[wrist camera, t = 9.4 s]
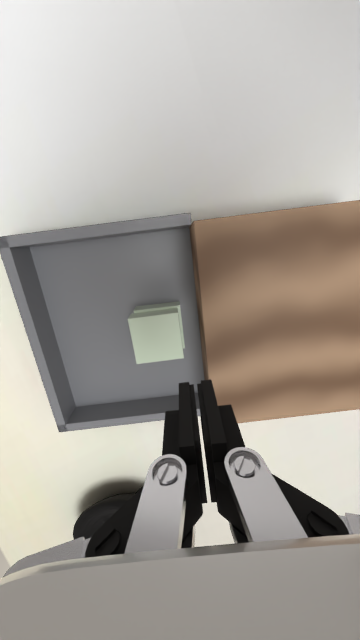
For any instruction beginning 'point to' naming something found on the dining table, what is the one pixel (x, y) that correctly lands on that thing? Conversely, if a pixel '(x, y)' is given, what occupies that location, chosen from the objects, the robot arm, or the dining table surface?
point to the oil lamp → (98, 515)
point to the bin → (105, 316)
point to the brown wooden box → (280, 309)
